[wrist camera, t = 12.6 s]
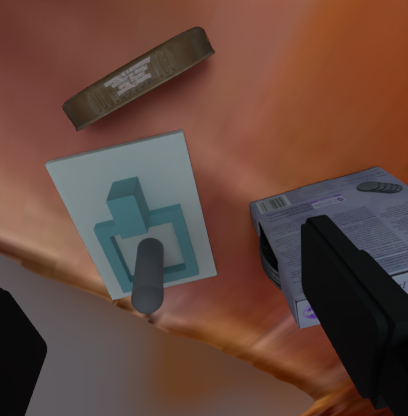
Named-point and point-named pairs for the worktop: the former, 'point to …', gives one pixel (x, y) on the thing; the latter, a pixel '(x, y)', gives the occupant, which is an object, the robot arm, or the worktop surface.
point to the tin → (138, 77)
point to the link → (141, 231)
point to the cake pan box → (345, 220)
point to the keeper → (156, 198)
